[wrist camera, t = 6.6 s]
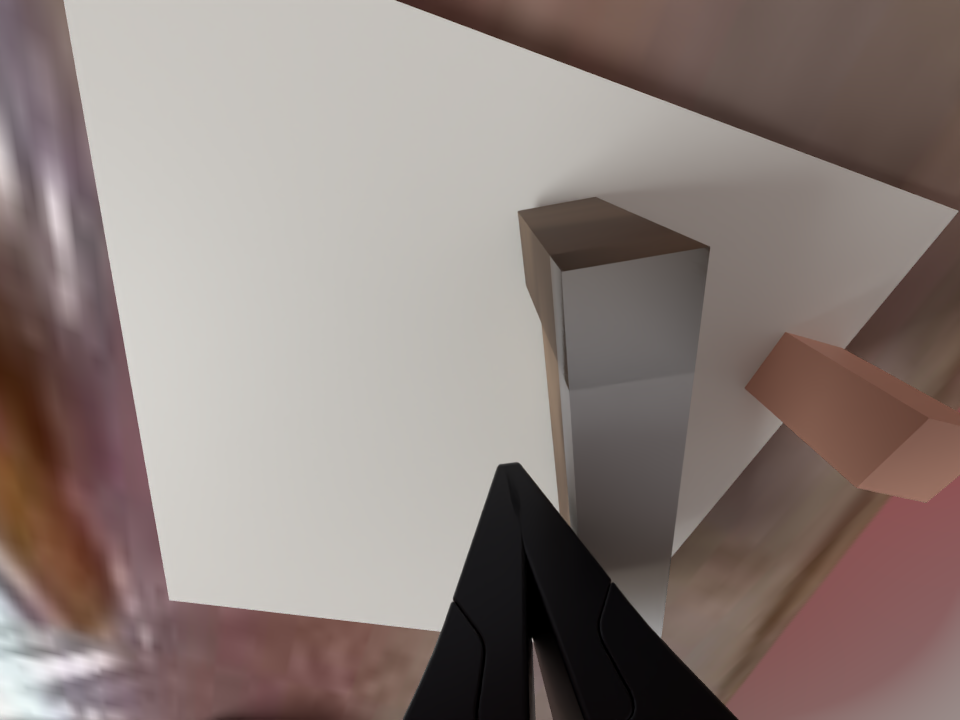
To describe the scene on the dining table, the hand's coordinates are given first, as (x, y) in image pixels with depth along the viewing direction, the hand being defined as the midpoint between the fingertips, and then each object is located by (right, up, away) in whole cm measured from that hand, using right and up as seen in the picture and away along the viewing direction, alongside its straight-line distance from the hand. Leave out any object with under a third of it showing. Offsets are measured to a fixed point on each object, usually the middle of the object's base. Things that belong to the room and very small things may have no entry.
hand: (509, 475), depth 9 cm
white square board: (-1, 0, +5) cm, 5 cm away
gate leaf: (+2, 0, +3) cm, 4 cm away
